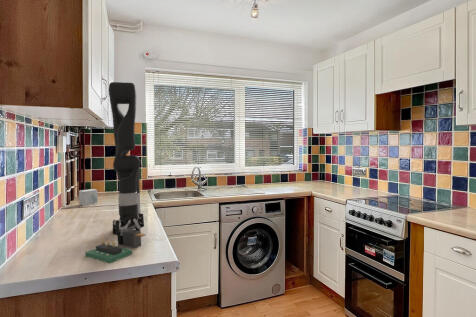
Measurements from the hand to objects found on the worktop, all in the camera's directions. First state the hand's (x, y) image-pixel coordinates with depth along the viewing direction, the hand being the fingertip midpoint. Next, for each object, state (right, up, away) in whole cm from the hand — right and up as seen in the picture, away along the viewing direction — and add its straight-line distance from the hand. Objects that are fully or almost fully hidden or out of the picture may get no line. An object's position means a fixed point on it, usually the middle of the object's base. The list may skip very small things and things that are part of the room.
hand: (129, 241), depth 123 cm
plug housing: (+2, -2, -1) cm, 2 cm away
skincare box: (-61, +2, +86) cm, 105 cm away
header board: (-4, -2, -11) cm, 12 cm away
